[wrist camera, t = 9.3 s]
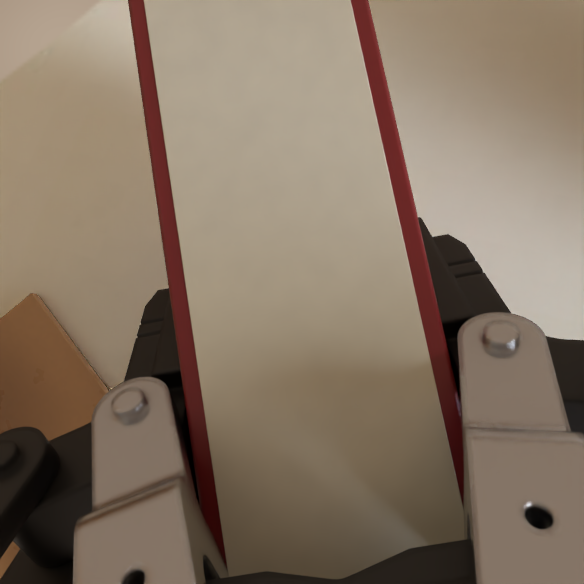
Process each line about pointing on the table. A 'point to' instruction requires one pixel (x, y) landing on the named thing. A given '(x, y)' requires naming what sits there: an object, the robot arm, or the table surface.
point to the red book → (298, 286)
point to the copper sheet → (42, 379)
